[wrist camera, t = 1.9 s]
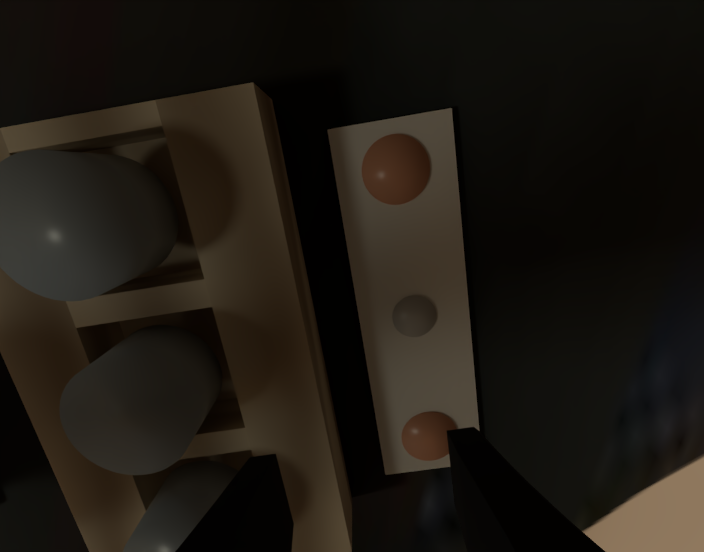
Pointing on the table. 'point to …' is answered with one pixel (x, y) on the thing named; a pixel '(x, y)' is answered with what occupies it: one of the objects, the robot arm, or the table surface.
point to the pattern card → (409, 281)
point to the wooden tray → (193, 313)
